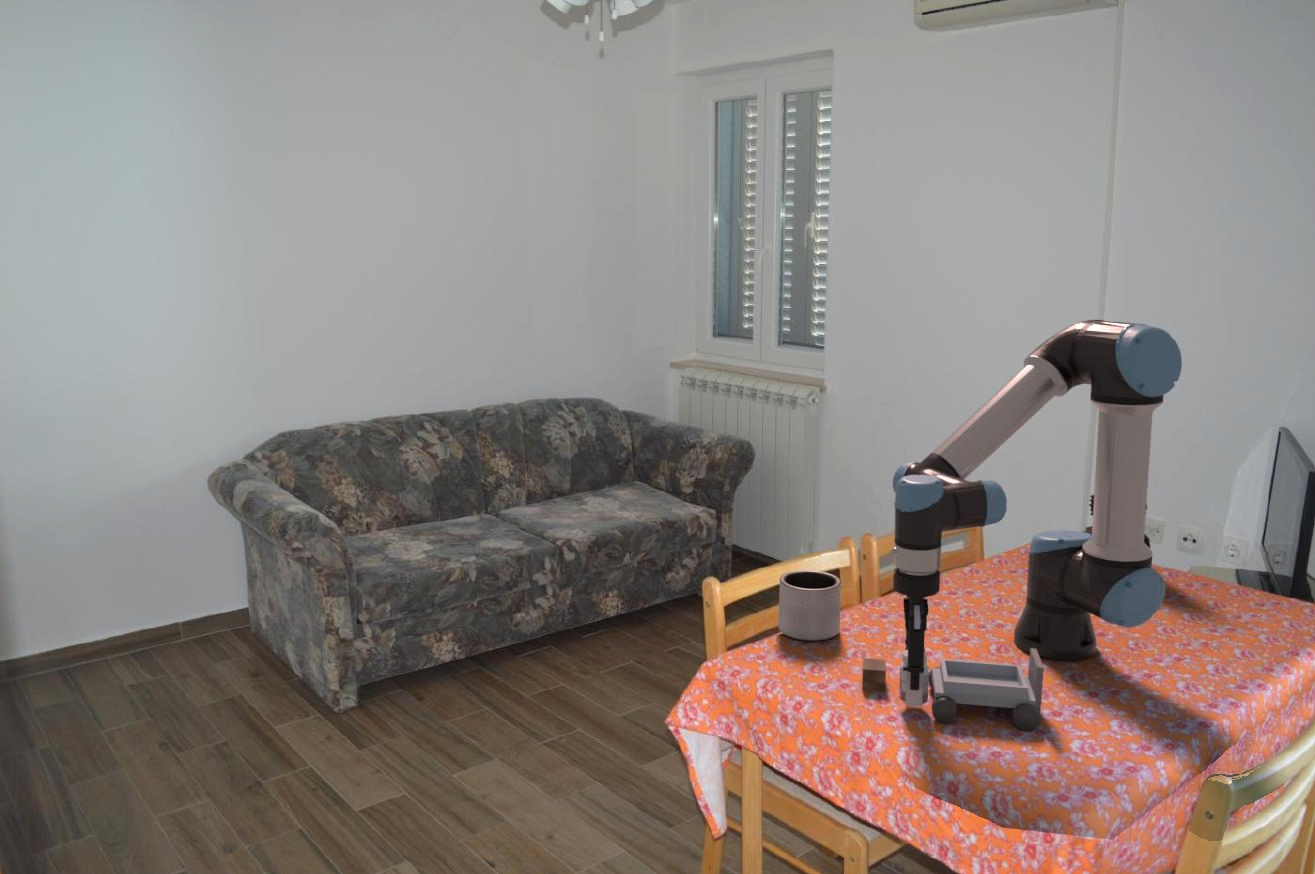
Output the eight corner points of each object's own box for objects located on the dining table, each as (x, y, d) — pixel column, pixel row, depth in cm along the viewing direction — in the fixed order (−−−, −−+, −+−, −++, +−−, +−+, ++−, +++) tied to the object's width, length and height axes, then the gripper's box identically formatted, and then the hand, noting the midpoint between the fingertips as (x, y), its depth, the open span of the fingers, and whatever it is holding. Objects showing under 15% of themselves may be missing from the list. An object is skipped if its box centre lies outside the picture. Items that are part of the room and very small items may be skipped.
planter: (825, 648, 200) (827, 594, 198) (767, 635, 207) (768, 582, 205) (849, 627, 211) (851, 576, 209) (793, 615, 217) (794, 565, 215)
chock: (884, 680, 186) (885, 659, 185) (885, 691, 181) (886, 670, 181) (862, 678, 187) (863, 657, 186) (862, 689, 182) (863, 669, 181)
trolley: (1029, 695, 180) (1033, 641, 178) (1042, 732, 166) (1046, 675, 164) (927, 686, 183) (930, 634, 181) (931, 722, 170) (934, 666, 168)
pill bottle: (895, 694, 176) (896, 648, 175) (922, 692, 177) (923, 647, 175) (904, 706, 172) (905, 660, 170) (931, 705, 172) (933, 658, 170)
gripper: (892, 550, 179) (889, 673, 183) (894, 585, 162) (891, 720, 166) (936, 552, 177) (932, 676, 182) (943, 587, 160) (938, 724, 165)
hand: (913, 697), depth 174 cm, fingers closed on pill bottle, 5 cm apart
